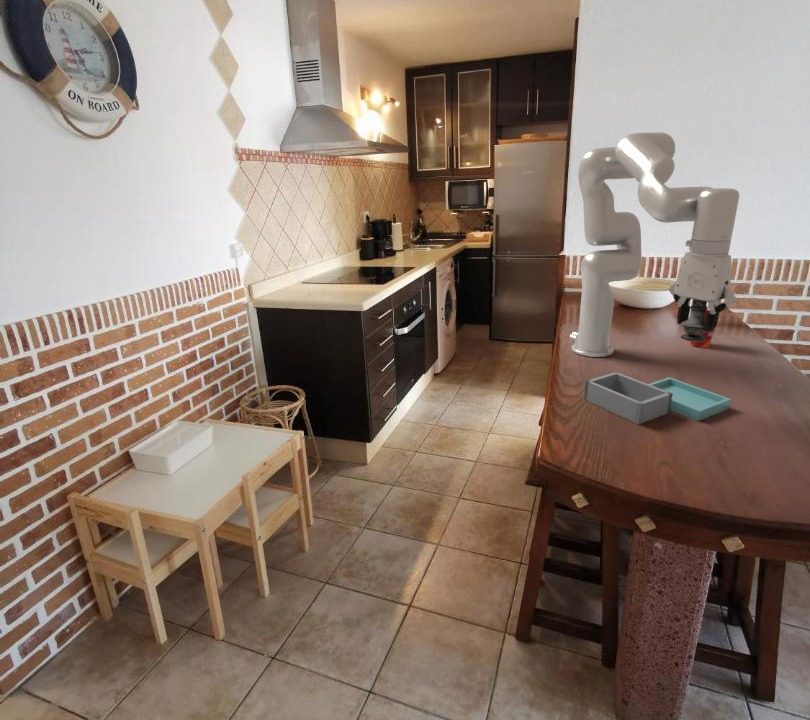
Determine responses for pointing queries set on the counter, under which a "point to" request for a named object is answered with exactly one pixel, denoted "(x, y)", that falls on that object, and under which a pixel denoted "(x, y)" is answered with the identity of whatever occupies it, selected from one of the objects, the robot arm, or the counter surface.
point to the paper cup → (707, 335)
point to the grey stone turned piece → (695, 322)
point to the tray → (692, 399)
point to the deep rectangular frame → (628, 397)
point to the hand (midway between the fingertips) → (695, 325)
